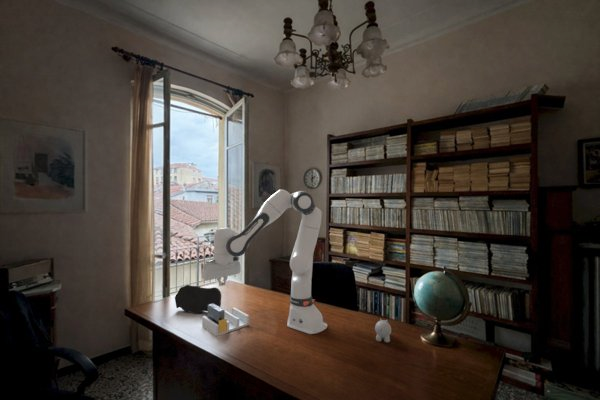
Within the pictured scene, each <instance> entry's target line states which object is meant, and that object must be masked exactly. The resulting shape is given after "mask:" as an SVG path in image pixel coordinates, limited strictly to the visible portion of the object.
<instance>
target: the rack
mask: <svg viewBox="0 0 600 400" xmlns="http://www.w3.org/2000/svg"><path fill="white" fill-rule="evenodd" d="M207 317H208V316H206V315H202V318H201V319H202V321H201V322H202V324H201V325H202V328H204V329H205V330H207V331H208V332H210V333H211V334H212V335H213V336H215V337H218V336H221V335H224V334H227V333H230V332H232V331H236V330H239V329H241V328H244V327H247V326H250V315H249V314H247V313H245V312H243V311H241V310H239V309H238V308H236V307H232V308H231V312H229V311H227V310H225V313H224V319H222V320H219V325H218V324H216V323H215V322H213V321H212V320H210V319H209V318H207Z"/></svg>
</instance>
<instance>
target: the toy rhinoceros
mask: <svg viewBox="0 0 600 400" xmlns="http://www.w3.org/2000/svg"><path fill="white" fill-rule="evenodd" d="M374 331H375V333H376V336H375V340H376V341H377V342H382V341H384V343H390V342H391V337H390V335H391V333H392V327H391V324H389V322H388V319H386V320H385V319H382V318H380V320H379V321H377V322H376V324H375V326H374Z"/></svg>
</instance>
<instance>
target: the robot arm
mask: <svg viewBox="0 0 600 400" xmlns="http://www.w3.org/2000/svg"><path fill="white" fill-rule="evenodd" d="M291 208H292V209H294V211H297V212H299V213H301V221H300V224H299V229H298V232H297V236H296V240H295V243H294V246H293V249H292V253H291V256H290V259H289V268H290V270H291V272H292V275H291V283H290V285H291V287H290V296H289V303H290V304H289V305H290V306H289V311H288V317H287V321H286V322H287V324H286V326H287V327H288V328H291V329H294V330H296V331H300V332H302V333H306V334H308V335H313V334H319V333H321V332H323V331H325V330H326V329H327V328H328V324H327V323H326V322H324V317H323V314H322V313H321V311H320V310H319V309H318V308H317V307H316V305H315V304H314V303H315V301H316V299H315V298H314V299H313V296H312V278H313V265H314V264H313V262H314V257H313V256H314V252H315V248H316V245H317V241H318V237H319V234H320V233H319V232H320V229H321V226H322V225H321V223H322V218H323V217H322V215H323V214H322V212H323V211H322V210H321V209H320V208H319V207H317V206H316V205H315V201H314V198H313V196H312V194H310V193H309V192H307V191H304V190H297V191H294V192H291V193H290V192H289V191H287V190H286V189H278V190H277V191H276V192H273V194H272V195H270V197H268V198H267V199H266V200H265V202H263V204H262V205H261V206H260V208H259V209H258V211H257V213H256V215H255V217H254V218H253V220H252V221H251V222H250V223H249V224H248V225H247V226H246V227H245V228H244V229H243V230H242V231H241V232H238V231H236V230H233V229H232V228H230V227H229V226H227V227H221V228H218V229H216V230H215V232H214V235H213V249H214V250H213V259H212V260H206V261H205V262H204V263H203V265H202V279H203V280H205V281H209V280H214V279H215V280H216V281H217V282H218V287H222V286H225V285H226V282H227V280H228V277H230V276H234V275H240V273H241V269H242V268H241V261H240V257H241V256H243V255H244V254H245V253H246V252H247V249H248V248H249V244H250V242H252V240H253V239H254V238H255V237H256V236H257V235H258V234H259V233H260V232H261V230H263V229H264V228H265V227H267V226H268V225H270V224H272V223H274V222H275V221H276V220H277V219H279V218H280V217H281V216H282V215H283V214H284V212H285V211H286V210H288V209H291ZM222 279H223V280H222ZM221 280H222V281H221Z"/></svg>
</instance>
